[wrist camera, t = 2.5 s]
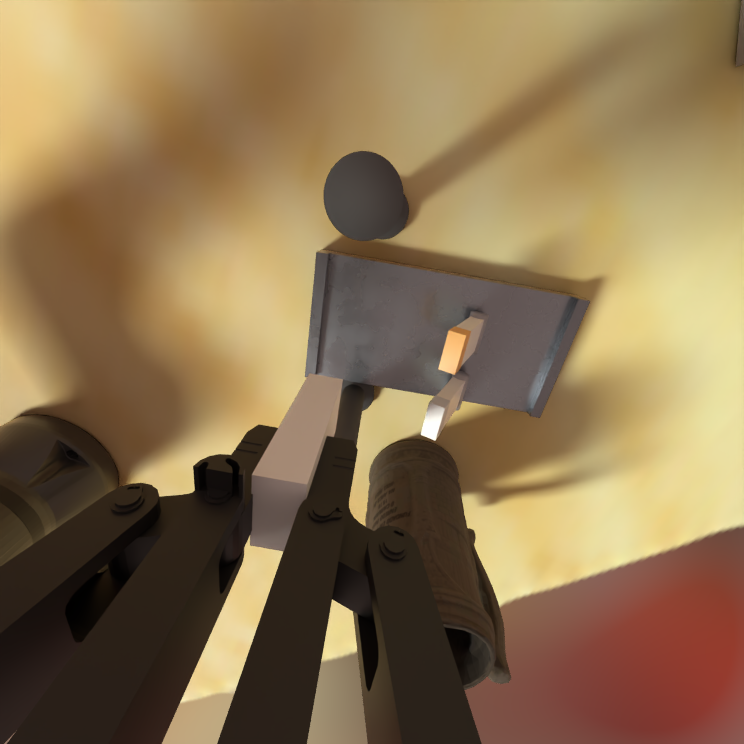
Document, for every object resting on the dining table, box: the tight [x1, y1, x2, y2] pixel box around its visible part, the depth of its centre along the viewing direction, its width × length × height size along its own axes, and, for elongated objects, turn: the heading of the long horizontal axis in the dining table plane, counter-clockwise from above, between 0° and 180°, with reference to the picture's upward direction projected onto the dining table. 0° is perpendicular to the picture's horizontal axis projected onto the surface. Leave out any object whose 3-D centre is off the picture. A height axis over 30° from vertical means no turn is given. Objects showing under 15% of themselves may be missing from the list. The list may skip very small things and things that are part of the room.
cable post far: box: [334, 380, 374, 445], centre depth 28 cm, size 4×4×22 cm
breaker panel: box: [305, 249, 590, 418], centre depth 33 cm, size 24×12×3 cm, turn 81°
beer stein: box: [365, 440, 511, 690], centre depth 34 cm, size 15×11×20 cm
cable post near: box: [324, 151, 409, 241], centre depth 20 cm, size 4×4×22 cm
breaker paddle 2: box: [421, 371, 470, 441], centre depth 31 cm, size 2×4×8 cm, turn 171°
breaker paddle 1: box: [438, 311, 489, 375], centre depth 29 cm, size 2×4×8 cm, turn 171°
